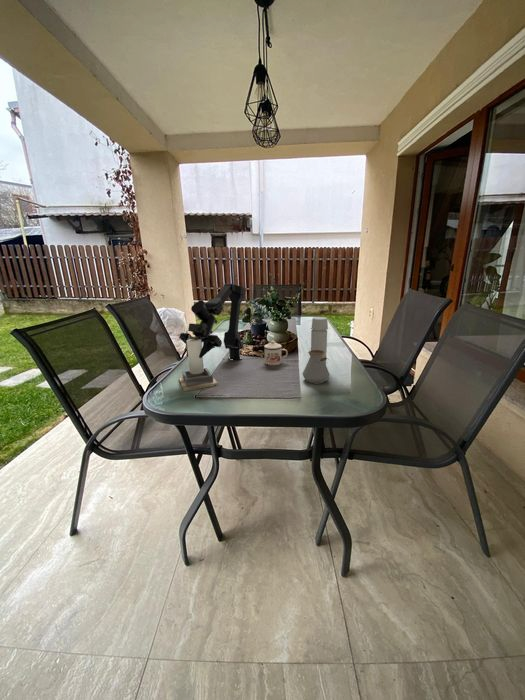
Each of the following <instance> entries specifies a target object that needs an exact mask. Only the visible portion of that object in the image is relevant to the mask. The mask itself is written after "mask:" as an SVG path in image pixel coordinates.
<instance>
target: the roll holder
mask: <svg viewBox="0 0 525 700" xmlns="http://www.w3.org/2000/svg"><path fill="white" fill-rule="evenodd" d="M178 380H179V383H180V385H181V387H182V389H183V391H184V392H188V391H192V390H199V389H204V388H208V387H209V386H210V387H215V386H214V385H216V386H219V385H218V384H219V383H218V381H217V380H216V379H215V378H214V376H213V374H212V373H211V371H209V368H208V367H207V368H206V367H205V368H204V372H203V373H200V374H191V373H190V370H186V371H182V376H181V377H178Z"/></svg>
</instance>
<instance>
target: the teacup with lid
mask: <svg viewBox="0 0 525 700" xmlns="http://www.w3.org/2000/svg"><path fill="white" fill-rule="evenodd" d="M263 349H264V364H266V365H267V364H268V366H279V365H280V364H282V362H283V361H282V359H285V358H286V357H288V354H289V353H288V350H287V349H285V348H283V346H282V344H280V343H277V342H276V341H275V340H271V341H270V342H269V343H267V344H265V345H264V346H263ZM282 351H285V355H284V356H282Z"/></svg>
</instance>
